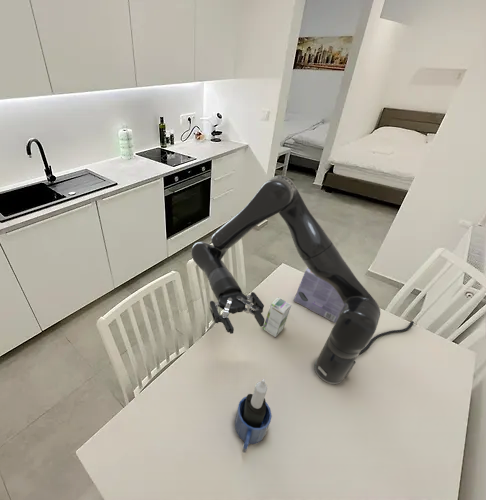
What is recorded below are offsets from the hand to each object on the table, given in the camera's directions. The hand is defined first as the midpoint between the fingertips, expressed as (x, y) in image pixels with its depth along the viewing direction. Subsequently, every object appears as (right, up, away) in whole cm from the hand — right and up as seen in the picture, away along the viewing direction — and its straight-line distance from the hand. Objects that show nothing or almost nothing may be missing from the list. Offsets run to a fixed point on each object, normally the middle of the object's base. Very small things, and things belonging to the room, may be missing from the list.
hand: (247, 328), depth 73 cm
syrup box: (+18, -11, +39) cm, 44 cm away
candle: (+3, -31, +10) cm, 33 cm away
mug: (+2, -33, +9) cm, 34 cm away
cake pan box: (+39, -5, +47) cm, 62 cm away
